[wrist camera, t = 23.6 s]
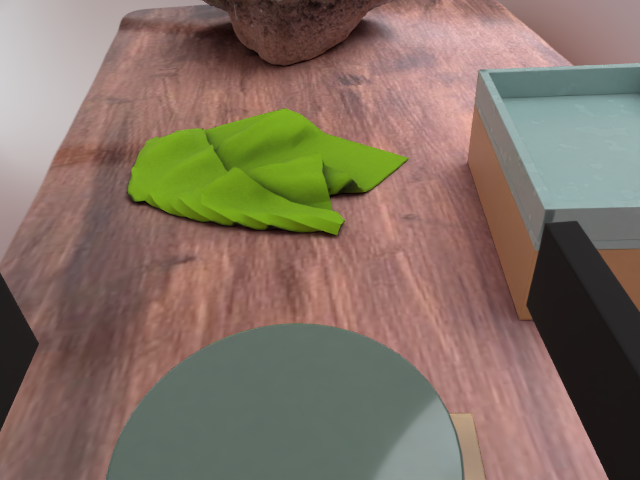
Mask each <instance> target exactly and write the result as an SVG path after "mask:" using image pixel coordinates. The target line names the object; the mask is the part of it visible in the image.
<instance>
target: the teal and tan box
mask: <svg viewBox="0 0 640 480" xmlns="http://www.w3.org/2000/svg"><path fill="white" fill-rule="evenodd" d="M468 165H469V168H470V171H471V174H472V177H473V180H474V183H475V186H476V189H477V192H478V195H479V198H480V201H481V204H482V207H483V210H484V213H485V217H486V220H487V223H488V226H489V229H490V232H491V235H492V238H493V241H494V244H495V247H496V250H497V253H498V256H499V259H500V262H501V265H502V269H503V272H504V275H505V278H506V281H507V284H508V287H509V290H510V293H511V296H512V299H513V302H514V305H515V308H516V311H517V314H518V318H519V319H520V320H533V319H532V317H531V315H530V313H529V310H528V308H527V306H526V303H527V299H528V295H529V290H530V286H531V282H532V277H533V273H534V269H535V265H536V260H537V256H538V252H539V247H540V243H541V239H542V234H543V230H544V226H545V223H554V222H566V221H578V223H579V224H580V226H581V227H582V229H583V230H584V232H585V233H586V234H587V236H588V237H589V239H590V240H591V242H592V243H593V245H594V246H595V248H596V249H597V250H598V252H599V253H600V255H601V256H602V258H603V259H604V261H605V262H606V264H607V265H608V266H609V268H610V269H611V271H612V272H613V274H614V275H615V277H616V278H617V280H618V281H619V282H620V284H621V285H622V287H623V288H624V290H625V291H626V293H627V294H628V296H629V297H630V298H631V300H632V301H633V303H634V304H635V306H636V307H637V309H638V310H639V312H640V63H639V64H638V63H637V64H614V65H613V64H612V65H588V66H587V65H586V66H561V67H535V68H510V69H484V70H479V71H478V79H477V88H476V97H475V105H474V113H473V121H472V129H471V138H470V146H469V154H468Z"/></svg>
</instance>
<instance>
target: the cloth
mask: <svg viewBox="0 0 640 480" xmlns="http://www.w3.org/2000/svg"><path fill="white" fill-rule="evenodd" d="M407 160H408V158H407V157H403V156H400V155H397V154H394V153H391V152H387V151H384V150H380V149H377V148H373V147H370V146H366V145H363V144H359V143H356V142H352V141H349V140H345V139H342V138H339V137H336V136H332V135H329V134H325V133H324V132H322V131H321V130H320V129H319V128H318V127H316V126H315V125H314V124H313V123H312V122H310V121H309V120H308V119H306V118H305V117H304V116H302V115H301V114H299V113H296V112H293V111H291V110H288V109H285V108H283V109H281V110H277V111H273V112H269V113H265V114H261V115H258V116H254V117H250V118H247V119H243V120H239V121H235V122H232V123H228V124H225V125H221V126H218V127H215V128H211V129H207V130H204V129H203V128H202V129H187V130H178V131H176V132H174V133H173V134H169V135H166V136H164V137H161V138H159V137H155V138H152V139H150V140H148V141H147V142H146V144H145V146H144V147H143V149H142V150H141V151H140V153H139V154H138V157H137V160H136V163H135V165H134V166H133V168H132V172H131V179H130V182H129V184H128V185H129V186H128V190H127V193H128V195H129V196H130V198H131V199H132V200H133V202H139V201H146V202H147V203H149V204H150V205H151V206H153V207H156V208H159V209H162V210H164V211H166V212H168V213H170V214H173V215H177V216H182V217H188V218H190V219H193V220H197V221H200V222H206V221H214V222H216V223H218V224H221V225H228V226H246V227H249V228H253V229H258V230H270V229H285V230H289V231H295V232H315V231H325V232H328V233H331V234H335V235H337V234H338V231H339V228H340V226H341V224H342V223H343V222H345V220H344V219H343V218H342V217H341V215H340V214H339V213H338V212H335V211H332V206H331V201H330V197H329V195H333V194H339V193H357V192H366V191H369V190H371V189H372V188H374V187H375V186H376V185H378V184H379V183H380V182H382V181H383V180H384V179H385V178H386V177H388V176H389V175H390V174H391V173H393V172H394V171H395V170H396V169H398V168H399V167H400V166H401V165H402V164H403V163H404V162H406V161H407Z"/></svg>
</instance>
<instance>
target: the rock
mask: <svg viewBox="0 0 640 480" xmlns="http://www.w3.org/2000/svg"><path fill="white" fill-rule="evenodd" d="M203 1H204V2H206V3H208V4H209V5H210V6H215V7H217V8H220V9H222V10H224V11H227V12H228V13H229V16H230V19H231V22H232V26H233V30H234V32H235V34H236V36H237V37H238V39H239V40H240V41H241V43H242V44H244V45H245V46H246V47H247V48H249V49H251V50H254V51H256V52H257V53H258V54H259V56H260V58H262V59H264V60H265V61H267V62H269V63H271V64H278V65H289V64H293V63H297V62H299V61H303V60H309V59H312V58H314V57H316V56H318V55H320V54H322V53H324V52H325V51H326V50H328V49H329V48H331V47H333V46H334V45H336V44H338V43H340V42H342V41H344V40H345V39H346V38H347V37H348V35H349V34H350V32H351V31H352V30H353V29H354V28H355V27H356V26H357V25H358V24H359V22H360V21H361V19H362V18H363V17H364V16H365V15H366V14H367V12H369V11H370V10H372V9H373V8H375V7H379V6H381V5H383V4H386V3H389V2H391V1H394V0H203Z"/></svg>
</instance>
